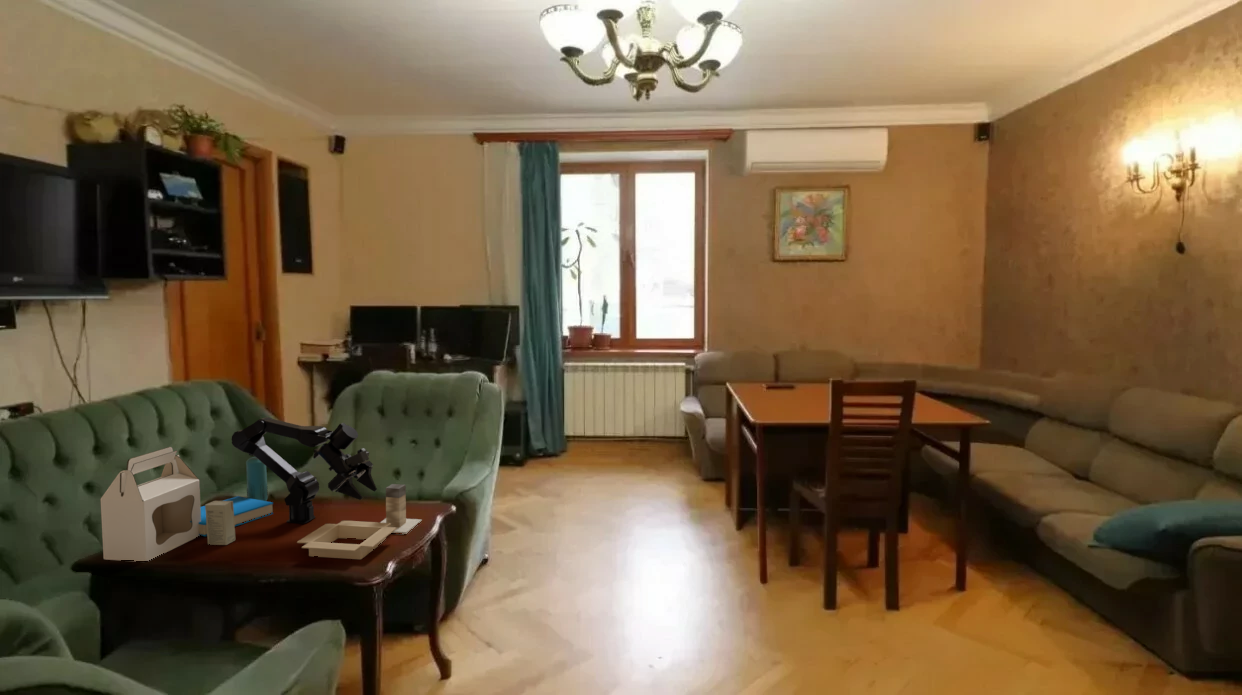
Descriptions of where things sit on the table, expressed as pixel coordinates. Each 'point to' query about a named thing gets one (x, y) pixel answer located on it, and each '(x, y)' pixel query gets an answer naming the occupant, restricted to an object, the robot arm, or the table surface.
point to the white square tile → (405, 525)
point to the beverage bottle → (256, 479)
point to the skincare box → (220, 522)
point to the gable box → (150, 509)
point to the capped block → (396, 505)
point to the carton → (328, 533)
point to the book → (241, 511)
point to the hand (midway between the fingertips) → (368, 494)
